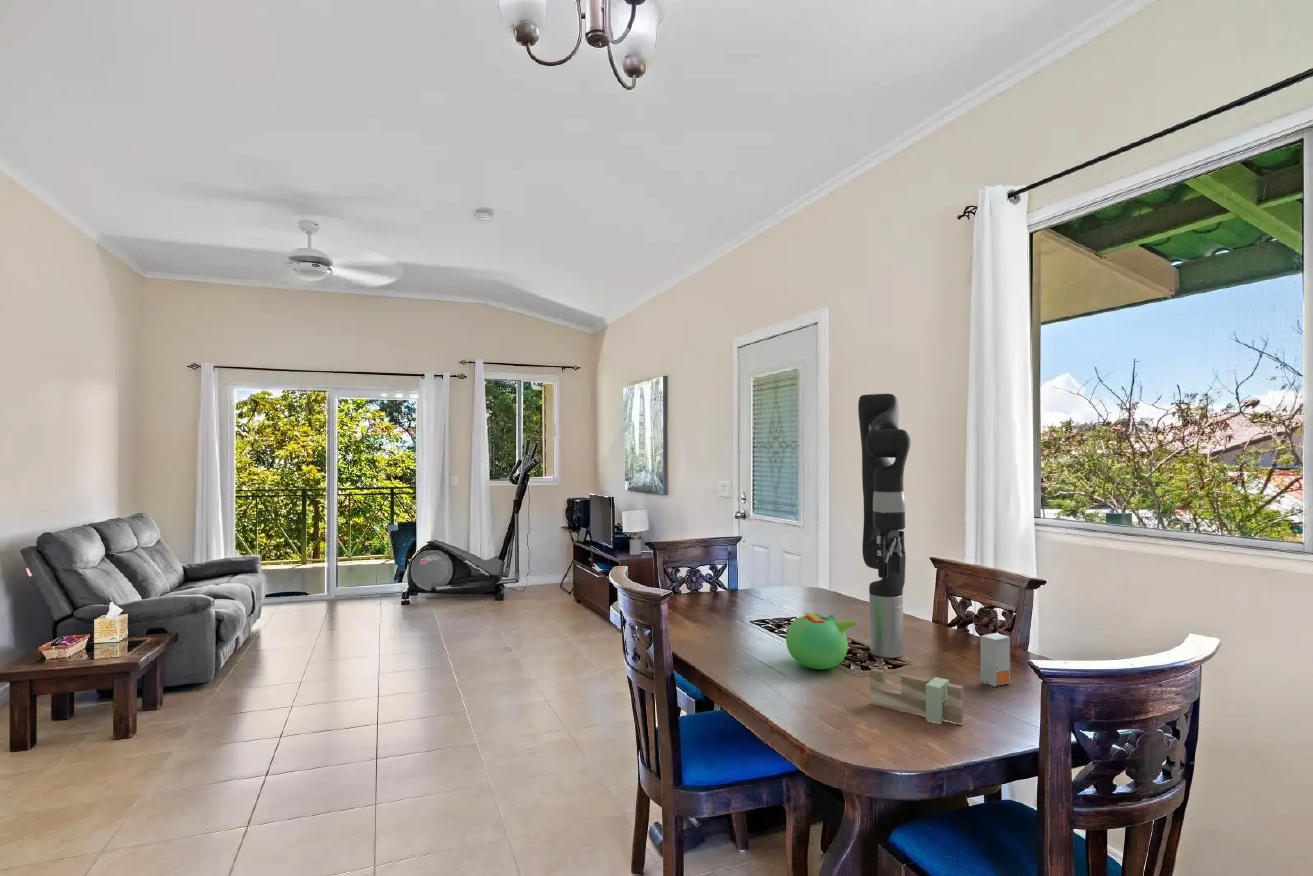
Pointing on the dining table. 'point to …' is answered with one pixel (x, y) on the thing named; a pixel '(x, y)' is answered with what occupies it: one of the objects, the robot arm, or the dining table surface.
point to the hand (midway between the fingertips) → (889, 575)
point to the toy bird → (818, 640)
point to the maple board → (914, 696)
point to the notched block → (936, 699)
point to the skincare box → (995, 658)
